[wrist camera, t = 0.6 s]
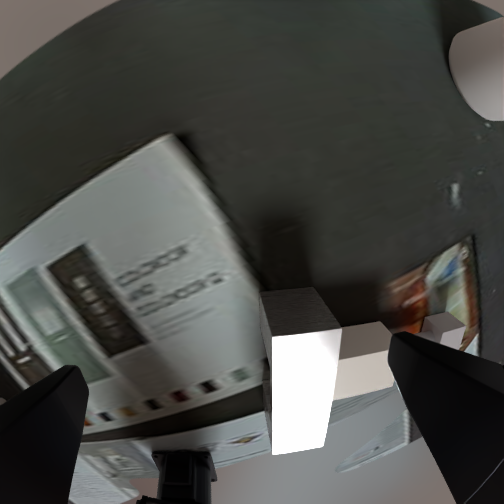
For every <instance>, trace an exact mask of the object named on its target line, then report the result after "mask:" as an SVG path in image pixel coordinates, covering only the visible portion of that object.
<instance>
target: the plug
mask: <svg viewBox="0 0 504 504" xmlns="http://www.w3.org/2000/svg"><path fill="white" fill-rule="evenodd" d="M465 328H466V326H465V325H464V324H463V323H462V322H460V321H459V320H458V319H457V318H455V317H454V316H453V315H452V314H450V313H449V312H444V313H440V314H436V315H431V316H427V317H425V319H424V323H423V327H422V331H421V332H420V333H416V334H414V335H417V336H420V337H423V338H426V339H428V340H431V341H434V342H437V343H440V344H443V345H446V346H448V347H451V348H454V349H457V350H459V347H460V344H461V341H462V338H463V335H464V331H465ZM391 336H392V334H391V333H390V332H389V330H388V329H387V328H386V327H385V326H384V325H383V324H382V323H381V322H380V321H379V322H373V323H367V324H361V325H355V326H349V327H342V334H341V343H340V351H339V358H338V366H337V373H336V379H335V386H334V392H333V398H332V400H337V399H342V398H347V397H352V396H356V395H360V394H365V393H369V392H373V391H377V390H381V389H384V388H388V387H392V386H393V382H394V377H393V375H392V372H391V370H390V368H389V365H388V362H387V355H388V350H389V345H390V339H391Z"/></svg>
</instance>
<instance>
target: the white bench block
mask: <svg viewBox="0 0 504 504" xmlns="http://www.w3.org/2000/svg"><path fill="white" fill-rule="evenodd" d="M259 302H260V328H261V332H262V336H263V340H264V345H265V349H266V353H267V357H268V361H269V365H270V380H262V386H263V406H264V411H265V417H266V422H267V427H268V433H269V438H270V443H271V448H272V453H273V455H274V454H281V453H289V452H295V451H301V450H307V449H312V448H317V447H323V445H324V440H325V435H326V430H327V426H328V420H329V415H330V409H331V404H332V398H333V392H334V386H335V379H336V373H337V366H338V358H339V351H340V343H341V334H342V327H341V326H340V324H339V323H338V322H337V320H336V319H335V317H334V316H333V314H332V313H331V311H330V310H329V309H328V307H327V306H326V304H325V303H324V301H323V300H322V298H321V297H320V296H319V294H318V293H317V291H316V290H315V288H314V287H307V288H296V289H286V290H274V291H263V292H259Z"/></svg>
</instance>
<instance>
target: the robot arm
mask: <svg viewBox="0 0 504 504" xmlns="http://www.w3.org/2000/svg"><path fill="white" fill-rule="evenodd" d="M387 362H388V365H389V368H390V370H391V372H392V375H393V377H394V379H395V382H396V384H397V386H398V389H399V391H400V394H401V396H402V398H403V400H404V402H405V405H406V407H407V409H408V410H409V412H410V414H411V416H412V418H413V419H414V421H415V423H416V425H417V427H418V429H419V430H420V432H421V434H422V436H423V438H424V440H425V442H426V444H427V446H428V447H429V449H430V451H431V453H432V455H433V457H434V459H435V461H436V463H437V465H438V467H439V469H440V471H441V473H442V475H443V477H444V479H445V481H446V483H447V485H448V487H449V489H450V491H451V493H452V495H453V497H454V500H455V502H456V504H504V365H503V366H502V365H501V364H498V363H495V362H492V361H489V360H486V359H484V358H481V357H478V356H475V355H472V354H469V353H466V352H463V351H460V350H457V349H454V348H451V347H448V346H446V345H443V344H440V343H437V342H434V341H431V340H428V339H426V338H423V337H420V336H417V335H414V334H411V333H409V332H406V331H403V332H399V333H395V334H393V335H392V336H391V339H390V345H389V350H388V355H387ZM88 397H89V389H88V386H87V384H86V381H85V379H84V377H83V375H82V372H81V370H80V368H79V367H78V366H76V365H64V366H63V367H61V368H59V369H58V370H56V371H55V372H53V373H51V374H50V375H48V376H46V377H45V378H43V379H42V380H40V381H38V382H37V383H35V384H34V385H32V386H30V387H29V388H27V389H26V390H24V391H22V392H21V393H19V394H17V395H16V396H14V397H13V398H11V399H9V400H8V401H6V402H5V403H3V404H1V405H0V504H68V499H69V493H70V488H71V483H72V478H73V473H74V469H75V464H76V460H77V455H78V451H79V447H80V443H81V439H82V434H83V428H84V421H85V414H86V408H87V402H88ZM151 456H152V458H153V460H154V462H155V464H156V466H157V468H158V470H159V471H160V473H159V482H158V491H157V499H156V498H151V497H148V496H144V495H143V496H142V499H141V500H137V502H136V504H211V482H215V481H217V475H216V472H215V468H214V465H213V461H212V457H211V454H210V453H208V452H158V451H154V452H152V455H151Z"/></svg>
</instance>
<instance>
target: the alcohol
mask: <svg viewBox="0 0 504 504" xmlns="http://www.w3.org/2000/svg"><path fill="white" fill-rule="evenodd" d="M449 66H450V71H451V75H452V78H453V81H454V83H455V85H456V88H457V89H458V91H459V93H460V95H461V96H462V98H463V99H464V101H465V102H466V103H467V104H468V105H469V107H470V108H472V109H473V110H474V111H475V112H477V113H478V114H479V115H480V116H482V117H484V118H485V119H487V120H491V121H504V17H501V18H498V19H495V20H492V21H489V22H486V23H483V24H480V25H478V26H475V27H472V28H469V29H467V30H464V31H461V32H459V33H458V34H456V35H455V37H454V38H453V40H452V43H451V46H450V49H449Z"/></svg>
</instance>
